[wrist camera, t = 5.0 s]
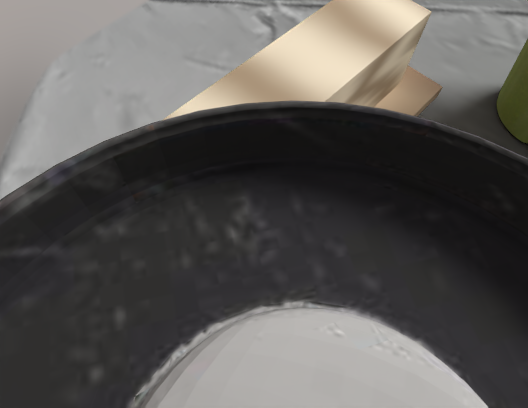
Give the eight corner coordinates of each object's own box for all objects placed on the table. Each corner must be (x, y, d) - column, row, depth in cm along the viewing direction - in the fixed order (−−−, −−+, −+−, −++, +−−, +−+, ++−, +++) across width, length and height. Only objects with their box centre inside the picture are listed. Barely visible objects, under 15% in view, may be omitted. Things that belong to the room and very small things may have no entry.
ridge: (336, 33, 34) (355, -53, 28) (437, 96, 31) (483, 16, 25) (42, 255, 24) (-29, 197, 18) (149, 381, 21) (108, 364, 15)
